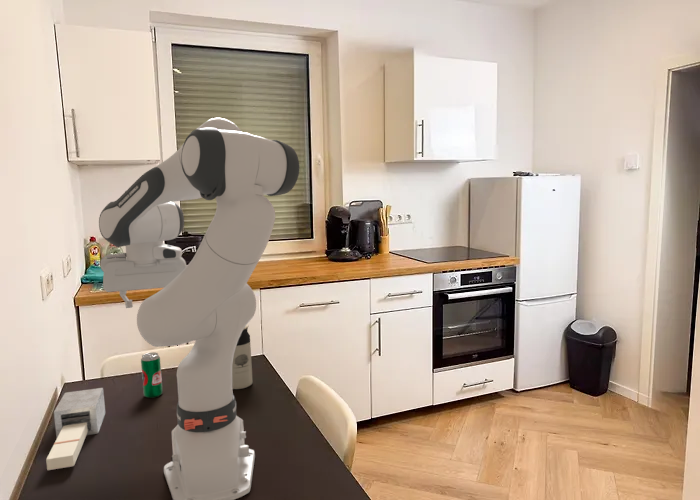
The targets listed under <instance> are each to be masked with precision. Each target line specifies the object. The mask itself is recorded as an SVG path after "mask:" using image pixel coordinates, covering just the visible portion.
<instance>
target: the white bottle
mask: <svg viewBox="0 0 700 500" xmlns="http://www.w3.org/2000/svg"><path fill="white" fill-rule="evenodd" d="M248 328H249V323H248V324H247V325H246V326H245V328H244V329H243V331H242V333H241V335H240V337H239V340H238V342H237V345H236V348H235V352H234V356H233V363H232V388H233V390H241V389H245V388H249V387H250V386H252V385H253V368H252V349H251V348H252V347H251V346H252V345H251V334H250V333H249V331H248Z"/></svg>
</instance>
